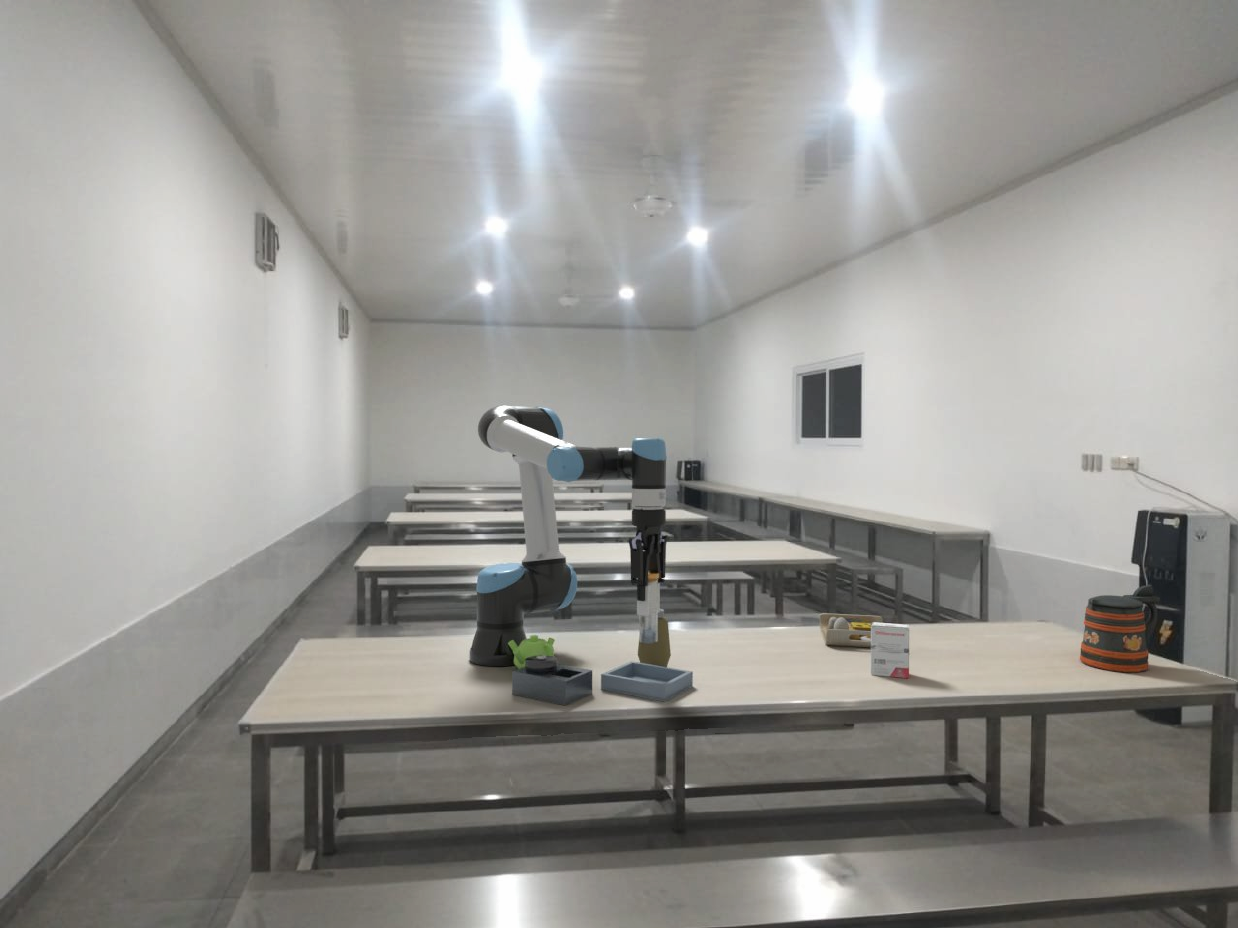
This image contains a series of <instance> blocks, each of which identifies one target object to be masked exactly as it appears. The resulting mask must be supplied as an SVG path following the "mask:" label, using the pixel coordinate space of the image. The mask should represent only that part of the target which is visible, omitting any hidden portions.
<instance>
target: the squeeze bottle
mask: <svg viewBox="0 0 1238 928" xmlns="http://www.w3.org/2000/svg"><path fill="white" fill-rule="evenodd" d="M639 638H640V635H639ZM639 638H638V639H639ZM670 644H671V643H670V630H669V620H668V619H667V618H665V609H663V608H660V612H658V641H657V642H655V643H643V642H640V641H639V640H638V648H637V656H638V657H637V658H638V660H639V663H645V664H651V665H657V666H663V667H668V664H669V661H670V659H671V656H672V653H671V645H670Z"/></svg>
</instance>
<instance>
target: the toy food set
mask: <svg viewBox="0 0 1238 928" xmlns="http://www.w3.org/2000/svg"><path fill="white" fill-rule="evenodd" d="M846 619H848V620H849V619H850V620H851V619H852V620H860V622H857V621H856V622H854V621H853V622H852V621H851V622H850V624H849V623H848V621H847V620H846ZM872 622H878V623H884V622H883V617H882V616H880V615H869V614H868V615H867V614H865V615H864V614H847V613H827V612H826V613H825V612H823V613H820V614H819V629H820V633H821V636H822V639H823V642H824V645H825V646H837V647H851V648H852V647H853V648H870V649H871V623H872Z"/></svg>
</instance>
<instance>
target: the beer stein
mask: <svg viewBox="0 0 1238 928" xmlns="http://www.w3.org/2000/svg"><path fill="white" fill-rule="evenodd" d="M1153 587H1154V586H1153V585H1152V584H1146V585H1141V586H1139V587H1138V588H1137V589H1136V590H1135V591H1134V592H1133V593H1132V594H1124V595H1122V596H1121V595H1111V594H1109V595H1105V594H1103V595H1097V596H1093V597H1090V598H1089V599H1088V600H1087V601H1088V603H1087V606H1085V613H1084V619H1083V620H1084V621H1083V625H1084V628H1083V629H1084V630H1083V639H1082V641H1081V643H1080V644H1081V646H1080V655H1079V660H1080V662H1081V663H1083V665H1086V666H1088V667H1091V668H1095V669H1100V670H1103V671H1109V672H1118V673H1127V674H1128V673H1129V674H1131V673H1132V674H1135V673H1140V672H1144V671H1147V670H1149V655H1150V654H1149V650H1148V646H1149V645H1150V643H1151V641H1150V637H1151V635H1152V634H1153V632H1154V630H1155V627H1156V625H1157V621H1158V609H1157V606H1156V603H1160V602H1161V596H1156V595H1154V588H1153ZM1144 605H1146V607H1148V609H1149V613H1148V617H1147V619H1146V621H1145V611H1144V610H1143V606H1144Z"/></svg>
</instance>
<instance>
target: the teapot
mask: <svg viewBox="0 0 1238 928" xmlns="http://www.w3.org/2000/svg"><path fill="white" fill-rule="evenodd" d="M555 641H556V640H555V639H554V638H553V637H548V639H547V640H546V639H544V638H539V635H536V634H532V635H529V638H527V639H525V640H523V641H522V642H521V643H520V645H519V646H517V644H516V643H515V642H514V640H511V641H510V642H508V644H509V646H510V647H511V649H512V650H513V653H514V655H515V656H514V664H515V665H514V666H515V667H516V668H517V669H520V668H522V667H525V659H526V658H528V657H531V656H537V655H547V656H553V657H555V655H554V654H555V649H554V643H555Z"/></svg>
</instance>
